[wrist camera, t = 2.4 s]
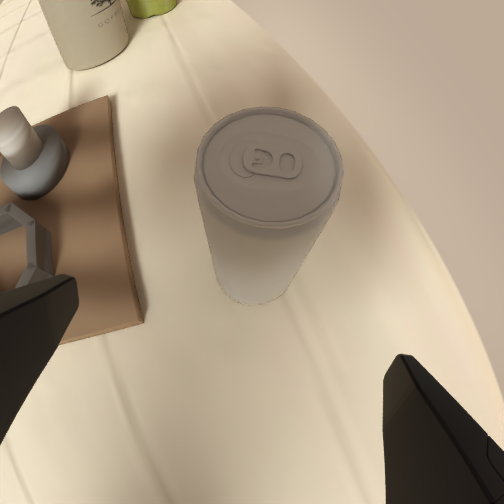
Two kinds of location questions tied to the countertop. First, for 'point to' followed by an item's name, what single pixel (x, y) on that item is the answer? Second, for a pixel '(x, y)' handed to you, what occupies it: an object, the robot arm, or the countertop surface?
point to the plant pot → (150, 7)
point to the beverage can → (264, 197)
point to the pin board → (66, 214)
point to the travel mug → (86, 30)
